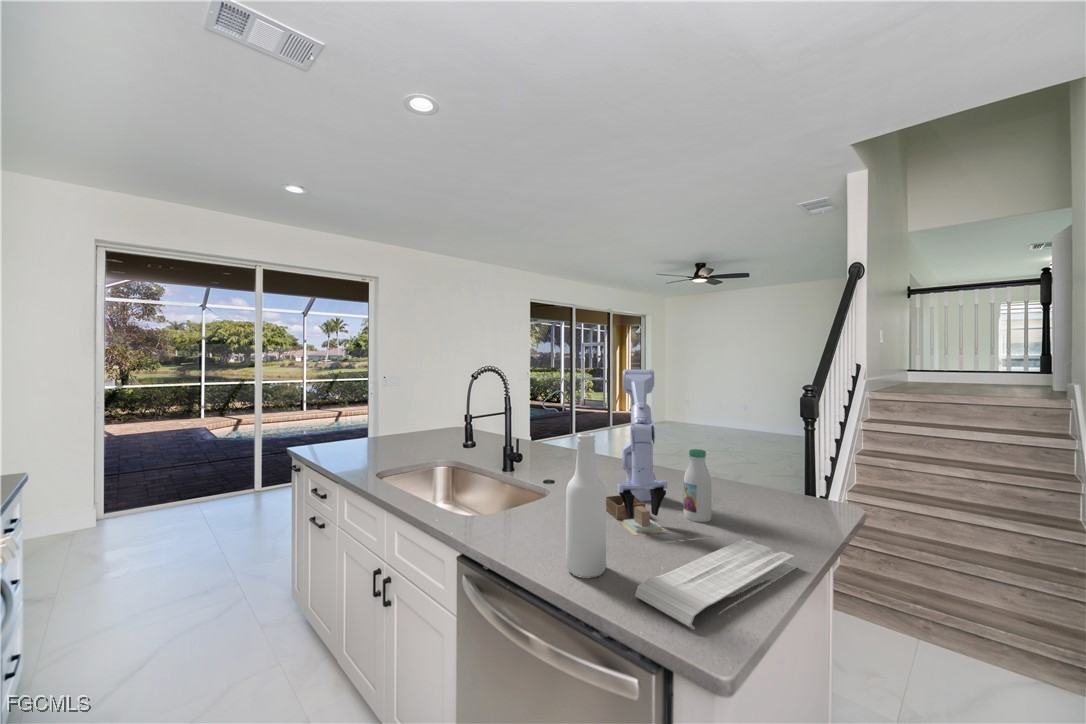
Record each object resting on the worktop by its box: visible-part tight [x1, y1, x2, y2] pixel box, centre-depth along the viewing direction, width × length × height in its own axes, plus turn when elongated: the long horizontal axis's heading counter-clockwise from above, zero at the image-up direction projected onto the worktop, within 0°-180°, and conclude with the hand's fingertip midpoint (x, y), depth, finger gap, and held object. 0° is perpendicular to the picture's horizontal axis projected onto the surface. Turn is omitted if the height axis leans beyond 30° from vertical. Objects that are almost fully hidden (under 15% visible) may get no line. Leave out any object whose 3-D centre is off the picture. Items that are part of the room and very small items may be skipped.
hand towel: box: [634, 538, 798, 630], centre depth 92 cm, size 12×4×40 cm
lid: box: [622, 506, 662, 533], centre depth 123 cm, size 8×8×5 cm
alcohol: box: [565, 432, 607, 578], centre depth 98 cm, size 9×9×30 cm
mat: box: [618, 520, 668, 536], centre depth 122 cm, size 10×10×1 cm
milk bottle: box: [683, 448, 712, 523], centre depth 129 cm, size 8×8×20 cm
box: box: [606, 494, 646, 521], centre depth 133 cm, size 9×9×4 cm
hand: (642, 515), depth 122 cm, fingers open, 7 cm apart
